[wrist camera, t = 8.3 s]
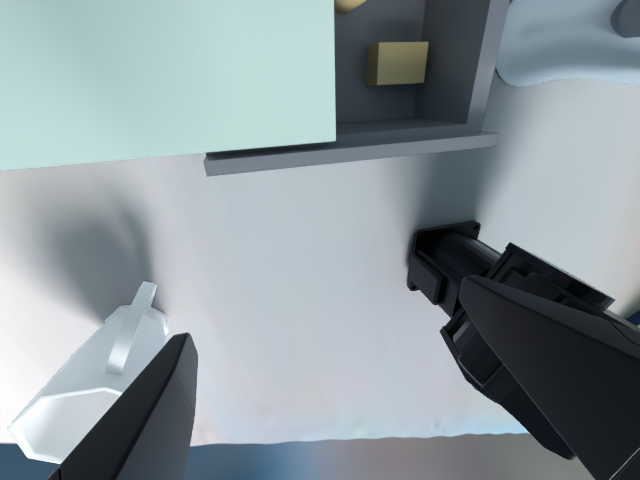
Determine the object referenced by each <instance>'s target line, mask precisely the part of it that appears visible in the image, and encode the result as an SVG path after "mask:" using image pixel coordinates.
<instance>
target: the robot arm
mask: <svg viewBox="0 0 640 480" xmlns="http://www.w3.org/2000/svg"><path fill="white" fill-rule="evenodd" d="M480 226H481V225H480V223H478V222H477V221H470V222H464V223H458V224H452V225H446V226H440V227H434V228H428V229H422V230H418V231H417V232H416V233H415V235H414V241H413V248H412V254H411V258H410V266H409V273H408V277H409V278H408V285H407V286H408V288H409V289H410V291H416V290H420V291H421V292H422V293H423V294H424V295H425V296H426V297H427V298H428V299H429V300H430V302H431V303H433V304H434V305H439V306H440V307H441V308H442V309H443V310H444V312H445V313H446V314H447V315H448V316H449V317H450V318H451V319H450V321H449V322H448V323H447V324H446V326H443V327H442V329H441V330H440V333H441V335H442V337H443V339H444V341H445V343H446V344H447V346H448V348H449V350H450V352H451V353H452V355H453V357H454V359H455V361H456V363H457V365H458V366H459V368H460V370H461V372H462V374H463V375H464V377H465V379H466V380H467V381H468V382H469V383H470V384H472V386H473V387H474V388H475V389H476V390H478V391H480V392H481V393H482V394H483V395H485V396H486V397H487V398H489V399H490V400H492V401H493V402H495V403H498V404H500V405H501V406H502V407H503V408H504V409H506V410H507V411H508V412H509V413H510V414H511V415H512V416H513V417H515V418H516V419H517V420H518V421H519V422H520V423H521V424H522V425H523V426H524V427H525V428H526V429H527V431H528V432H529V433H530V434H531V435H532V436H533V437H534V438H535V439H536V440H537V441H538V442H539V443H540V444H541V445H542V446H543V447H545V448H546V449H548V450H550V451H552V452H554V453H556V454H558V455H560V456H561V457H563V458H566V459H568V460H573V459H574V458H575V457H576V456H577V457H578V459H579V460H580V461H581V462H582V464H583V465H584V466H585V468H586V469H587V470H588V471H589V473H590V474H591V475H592V476H593V478H594V479H595V480H640V329H639V328H638V327H637V326H635V325H634V324H632V323H630V322H629V321H627V320H625V319H623V318H622V317H620V316H618V315H617V314H615V313H613V312H611V311H610V310H608V309H607V308H608V307H609V306H610V305H611V304H612V303H613V302H614V301H615V299H613V298H611V297H610V296H608V295H606V294H604V293H603V292H601V291H599V290H598V289H596V288H594V287H592V286H591V285H589V284H587V283H585V282H584V281H582V280H580V279H578V278H577V277H575V276H573V275H571V274H569V273H568V272H566V271H564V270H562V269H560V268H558V267H557V266H555V265H553V264H551V263H549V262H547V261H545V260H544V259H542V258H540V257H538V256H536V255H534V254H532V253H530V252H528V251H526V250H524V249H522V248H520V247H518V246H516V245H514V244H513V243H511V242H510V243H509V244H508V245H507V247H506V248H505V249H506V250H505V251H504V253H503V254H501V253H499V252H498V251H496V250H494V249H493V248H491V247H489V246H488V245H486V244H485V243H483V242H481V241H480V240H478V239H477V238H478V234H479V230H480ZM421 234H422V235H421ZM420 235H421V237H419V236H420ZM413 285H414V286H413ZM197 368H198V354H197V350H196V348H195V345H194V342H193V340H192V337H191V335H190V334H189V333H182V334H177V335H174V336H173V337H171V339H170V340H169V341H168V342H167V343H166V344H165V345H164V347H163V348H162V349H161V350H160V351H159V352H158V353H157V355H156V356H155V357H154V358H153V359H152V360H151V361H150V363H149V364H148V365H147V366H146V367H145V368H144V369H143V370H142V372H141V373H140V374H139V375H138V376H137V377H136V378H135V380H134V381H133V382H132V383H131V384H130V385H129V386H128V388H127V389H126V390H125V391H124V392H123V393H122V394H121V396H120V397H119V398H118V399H117V400H116V401H115V402H114V404H113V405H112V406H111V407H110V408H109V409H108V410H107V412H106V413H105V414H104V415H103V416H102V417H101V418H100V420H99V421H98V422H97V423H96V424H95V425H94V426H93V428H92V429H91V430H90V431H89V432H88V433H87V434H86V435H85V437H84V438H83V439H82V440H81V441H80V442H79V443H78V445H77V446H76V447H75V448H74V449H73V450H72V451H71V453H70V454H69V455H68V456H67V457H66V458H65V459H64V461H63V462H62V463H61V464H60V468H58V469H56V470H55V471H54V472H53V473H52V474H51V475H50V476H49V478H48V479H47V480H184V478H185V472H186V465H187V460H188V454H189V448H190V442H191V436H192V430H193V424H194V416H195V405H196V387H197Z"/></svg>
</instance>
